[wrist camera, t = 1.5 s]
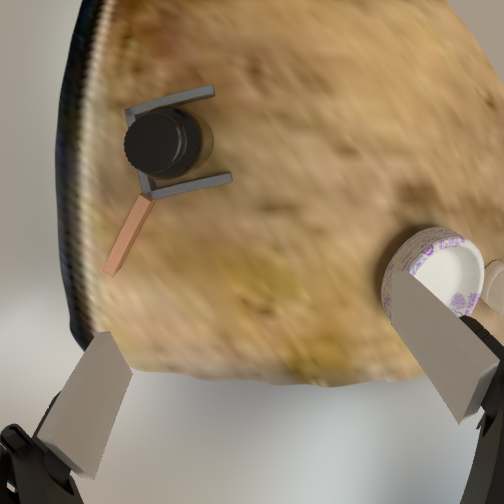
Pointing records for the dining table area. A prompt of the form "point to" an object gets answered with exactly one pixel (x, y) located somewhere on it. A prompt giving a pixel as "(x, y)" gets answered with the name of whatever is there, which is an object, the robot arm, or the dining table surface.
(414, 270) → the paper bowls
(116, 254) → the holder
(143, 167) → the supplement bottle
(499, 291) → the bottle
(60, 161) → the dining table surface
